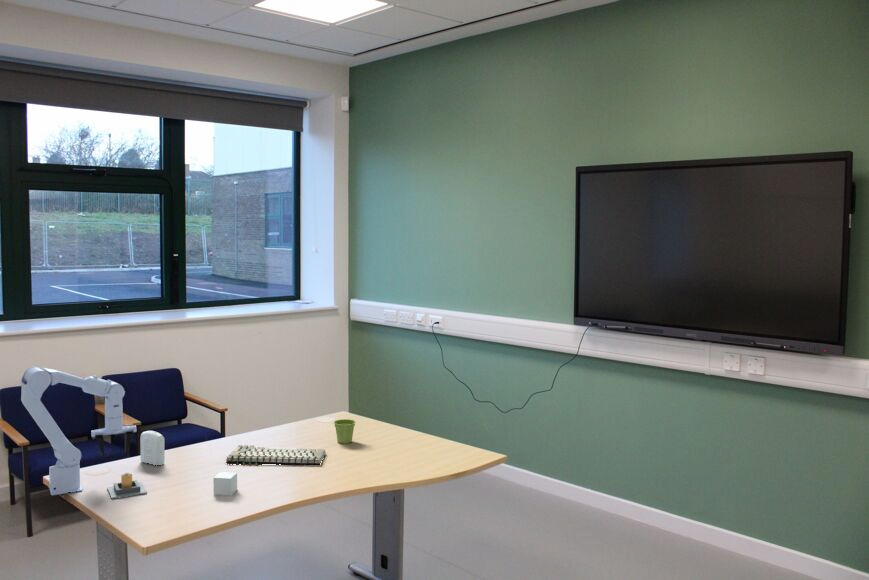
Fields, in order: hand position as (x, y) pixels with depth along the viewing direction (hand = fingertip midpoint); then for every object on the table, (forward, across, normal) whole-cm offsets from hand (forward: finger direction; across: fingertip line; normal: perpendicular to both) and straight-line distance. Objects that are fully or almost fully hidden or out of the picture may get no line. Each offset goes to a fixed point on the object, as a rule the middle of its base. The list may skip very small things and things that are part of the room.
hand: (114, 454), depth 257 cm
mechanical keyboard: (+10, +58, -2) cm, 59 cm away
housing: (+9, +2, -14) cm, 17 cm away
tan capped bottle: (+9, +2, -14) cm, 17 cm away
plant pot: (+10, +91, +6) cm, 92 cm away
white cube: (+10, +31, -30) cm, 44 cm away
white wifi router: (+10, +15, +13) cm, 22 cm away
